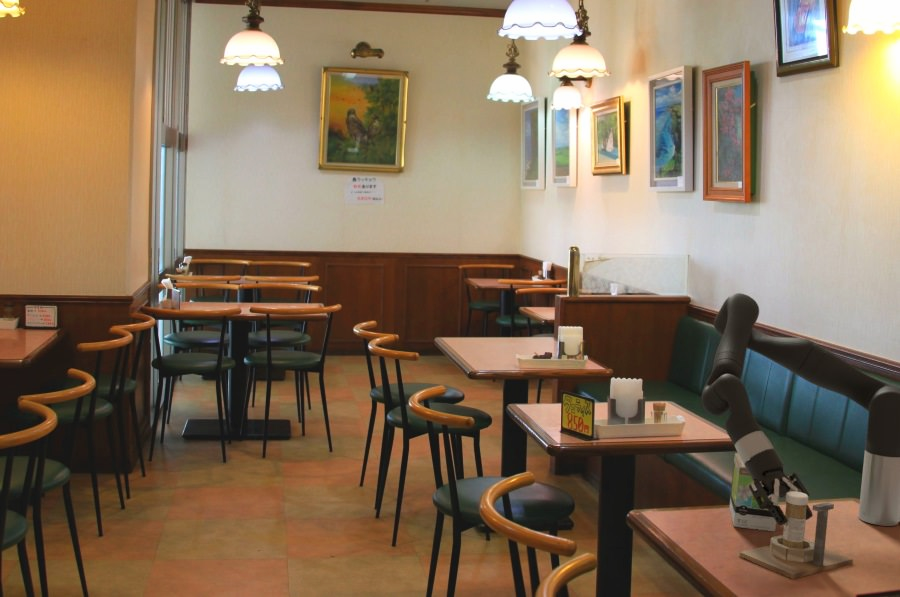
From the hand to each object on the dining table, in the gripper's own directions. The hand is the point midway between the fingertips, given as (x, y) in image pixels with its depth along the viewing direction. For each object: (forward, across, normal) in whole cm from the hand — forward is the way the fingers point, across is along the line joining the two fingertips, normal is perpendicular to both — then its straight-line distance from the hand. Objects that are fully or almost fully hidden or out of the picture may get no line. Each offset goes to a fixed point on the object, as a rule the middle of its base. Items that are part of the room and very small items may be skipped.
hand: (796, 521), depth 218 cm
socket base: (+6, 0, -6) cm, 9 cm away
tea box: (-9, -13, -22) cm, 27 cm away
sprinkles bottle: (+5, 0, -6) cm, 8 cm away
